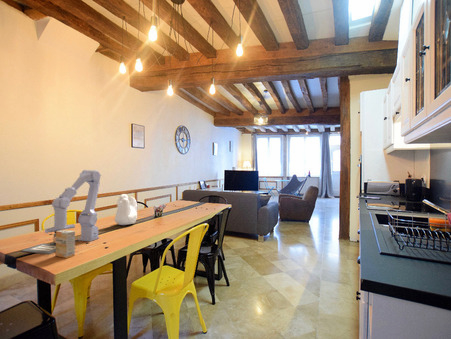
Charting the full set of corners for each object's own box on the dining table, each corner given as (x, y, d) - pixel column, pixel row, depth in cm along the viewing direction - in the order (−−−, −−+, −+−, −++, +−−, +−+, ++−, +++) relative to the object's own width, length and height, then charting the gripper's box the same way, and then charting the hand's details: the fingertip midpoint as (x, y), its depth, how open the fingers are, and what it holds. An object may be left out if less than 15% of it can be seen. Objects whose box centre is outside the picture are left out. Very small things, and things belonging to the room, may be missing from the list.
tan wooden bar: (51, 243, 142) (51, 234, 142) (58, 241, 146) (58, 233, 145) (67, 249, 133) (67, 239, 133) (75, 247, 136) (75, 238, 136)
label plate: (68, 247, 138) (68, 245, 138) (48, 254, 127) (48, 253, 127) (42, 244, 142) (42, 243, 142) (21, 251, 130) (21, 249, 130)
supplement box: (55, 256, 124) (55, 231, 124) (64, 253, 129) (64, 228, 129) (66, 258, 121) (66, 232, 121) (75, 255, 126) (75, 230, 126)
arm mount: (62, 243, 145) (62, 242, 145) (55, 245, 141) (55, 244, 140) (56, 242, 146) (56, 241, 146) (49, 245, 141) (49, 243, 141)
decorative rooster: (125, 228, 182) (125, 195, 182) (109, 226, 188) (109, 194, 188) (147, 221, 205) (147, 192, 205) (132, 219, 211) (132, 191, 211)
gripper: (70, 216, 144) (70, 238, 144) (42, 220, 132) (41, 245, 132) (76, 217, 141) (76, 240, 141) (48, 222, 128) (47, 247, 128)
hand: (60, 243), depth 136 cm, fingers closed
